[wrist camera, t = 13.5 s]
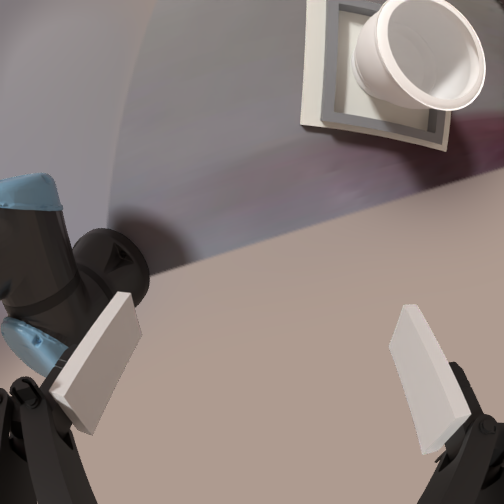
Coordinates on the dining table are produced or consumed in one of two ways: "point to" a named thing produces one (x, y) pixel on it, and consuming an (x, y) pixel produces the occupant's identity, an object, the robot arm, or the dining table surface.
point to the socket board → (345, 85)
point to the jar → (419, 56)
